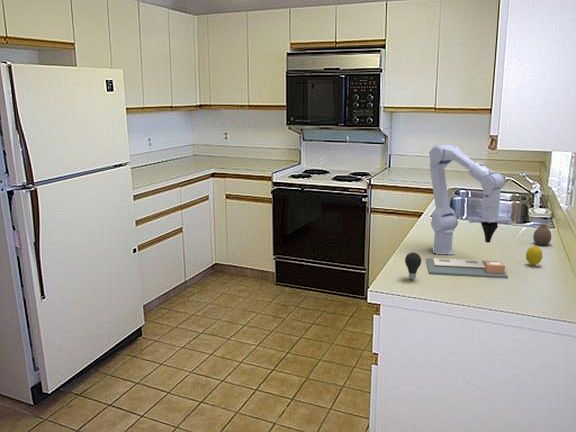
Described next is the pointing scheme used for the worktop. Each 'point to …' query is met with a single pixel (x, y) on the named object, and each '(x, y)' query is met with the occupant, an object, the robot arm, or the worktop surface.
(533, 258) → the lemon
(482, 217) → the robot arm
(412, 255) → the light bulb
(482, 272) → the mat
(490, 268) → the stub
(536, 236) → the brown pointed fruit
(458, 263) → the ticket
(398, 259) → the worktop surface
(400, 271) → the worktop surface
